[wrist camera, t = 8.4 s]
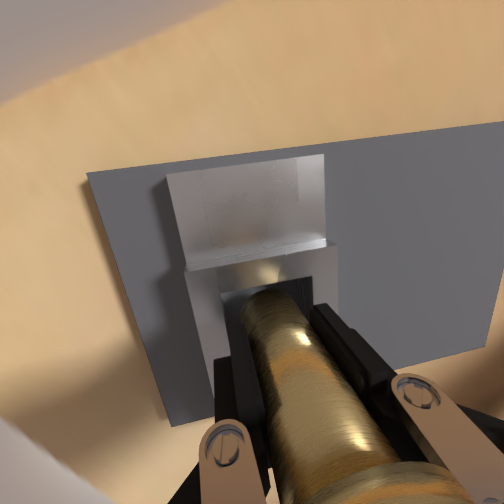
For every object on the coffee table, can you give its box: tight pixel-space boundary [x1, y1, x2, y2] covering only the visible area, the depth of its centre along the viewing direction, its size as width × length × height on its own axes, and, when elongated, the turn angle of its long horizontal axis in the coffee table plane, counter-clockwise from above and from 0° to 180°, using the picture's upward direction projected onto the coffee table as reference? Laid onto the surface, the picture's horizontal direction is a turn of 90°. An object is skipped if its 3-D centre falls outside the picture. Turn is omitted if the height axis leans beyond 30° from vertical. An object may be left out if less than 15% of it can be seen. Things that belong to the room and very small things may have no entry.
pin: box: [240, 289, 476, 504], centre depth 8 cm, size 4×4×9 cm
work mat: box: [86, 121, 504, 427], centre depth 15 cm, size 24×16×1 cm, turn 97°
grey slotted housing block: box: [166, 154, 338, 397], centre depth 13 cm, size 7×15×2 cm, turn 7°
